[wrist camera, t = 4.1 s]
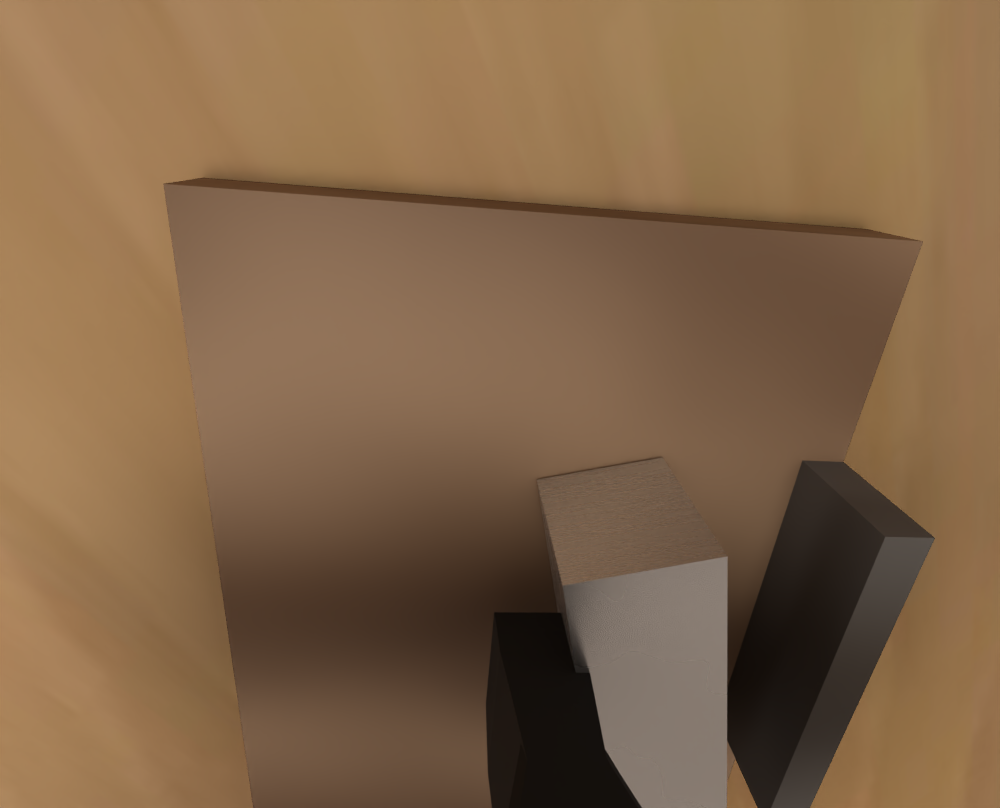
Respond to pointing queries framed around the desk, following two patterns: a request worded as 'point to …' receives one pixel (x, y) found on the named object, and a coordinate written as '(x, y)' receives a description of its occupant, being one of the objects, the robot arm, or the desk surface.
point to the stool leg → (645, 625)
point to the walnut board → (522, 460)
